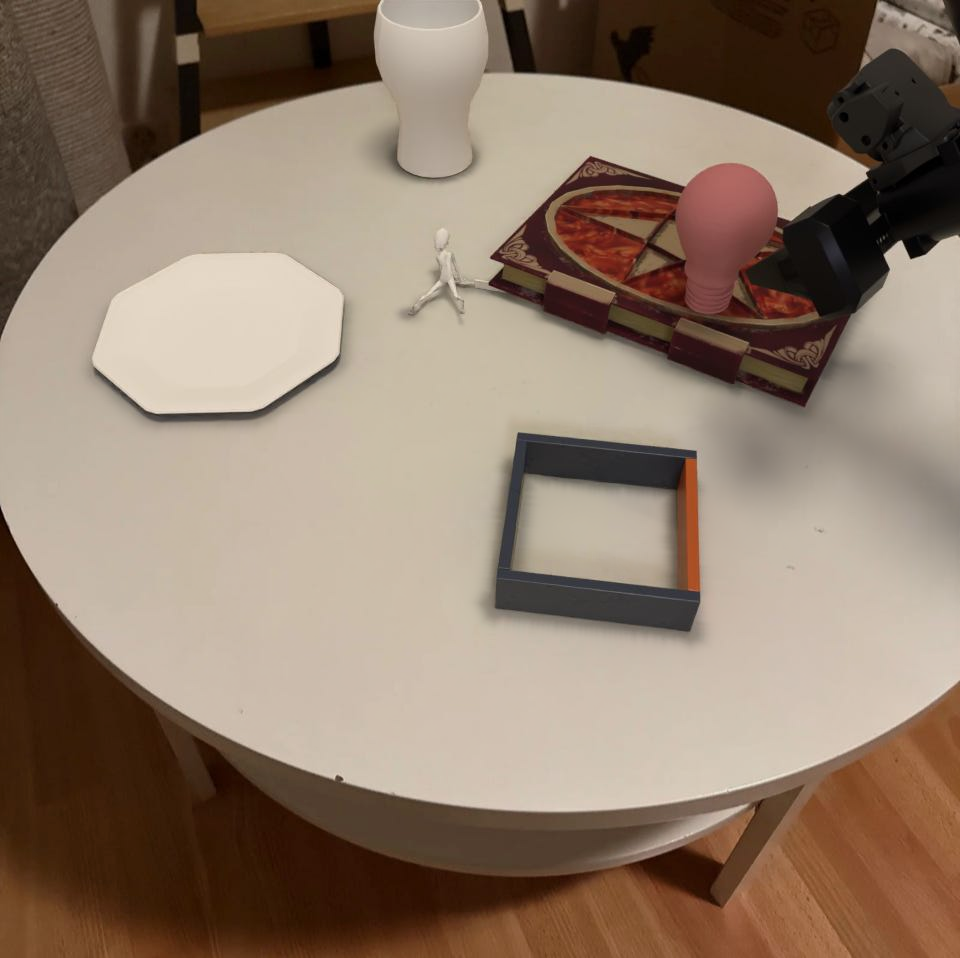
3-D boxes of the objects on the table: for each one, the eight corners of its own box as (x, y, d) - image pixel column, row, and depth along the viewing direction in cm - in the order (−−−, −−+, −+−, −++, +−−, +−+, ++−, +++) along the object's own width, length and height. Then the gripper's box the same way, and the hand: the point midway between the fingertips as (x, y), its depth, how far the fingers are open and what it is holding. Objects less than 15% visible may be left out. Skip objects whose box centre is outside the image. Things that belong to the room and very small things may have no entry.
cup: (497, 179, 92) (501, 26, 81) (392, 192, 91) (381, 38, 79) (473, 125, 99) (474, -23, 87) (375, 137, 97) (362, -13, 86)
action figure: (547, 343, 78) (562, 276, 82) (543, 301, 74) (560, 233, 77) (412, 328, 81) (432, 265, 84) (400, 288, 76) (422, 222, 79)
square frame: (687, 482, 67) (696, 450, 64) (690, 632, 59) (700, 602, 56) (515, 464, 68) (517, 431, 65) (494, 608, 60) (495, 578, 57)
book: (870, 277, 84) (890, 229, 80) (800, 417, 71) (821, 368, 68) (588, 183, 92) (594, 136, 88) (483, 293, 80) (485, 244, 76)
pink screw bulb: (646, 323, 71) (675, 186, 62) (668, 269, 76) (698, 134, 66) (737, 346, 70) (781, 210, 61) (754, 291, 74) (797, 156, 65)
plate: (199, 465, 68) (195, 451, 67) (56, 342, 77) (50, 328, 76) (392, 335, 78) (391, 321, 76) (245, 239, 86) (242, 225, 85)
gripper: (1025, -25, 54) (805, 93, 67) (867, 87, 45) (651, 198, 58) (1094, 149, 56) (869, 230, 69) (957, 288, 47) (730, 350, 61)
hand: (785, 247), depth 64 cm, fingers open, 9 cm apart
